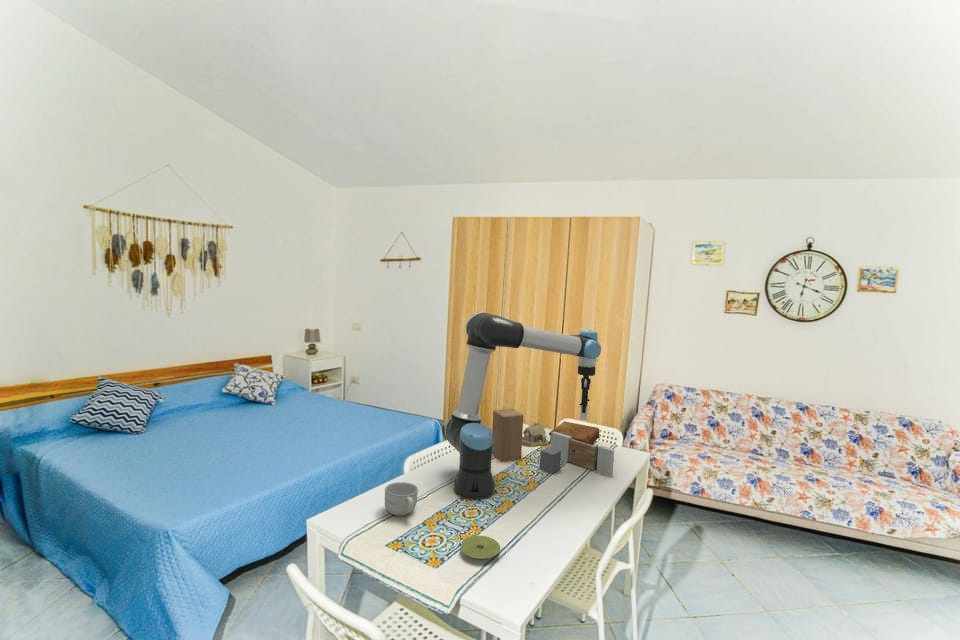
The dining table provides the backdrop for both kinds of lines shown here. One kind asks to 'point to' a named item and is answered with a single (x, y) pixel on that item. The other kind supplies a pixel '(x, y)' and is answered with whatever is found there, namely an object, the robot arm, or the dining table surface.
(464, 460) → the robot arm
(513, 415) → the wooden block
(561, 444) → the door frame
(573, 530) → the dining table surface
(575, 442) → the door
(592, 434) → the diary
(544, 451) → the block
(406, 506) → the teacup
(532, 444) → the ceramic model
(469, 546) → the olive green disc
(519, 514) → the dining table surface
